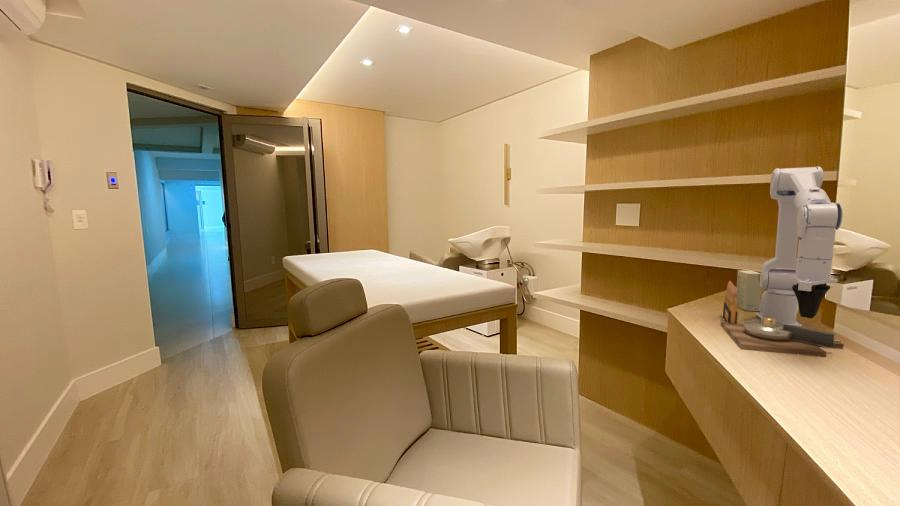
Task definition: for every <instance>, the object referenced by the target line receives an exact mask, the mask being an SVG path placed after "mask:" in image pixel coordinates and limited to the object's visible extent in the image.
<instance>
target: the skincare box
mask: <svg viewBox="0 0 900 506" xmlns="http://www.w3.org/2000/svg"><path fill="white" fill-rule="evenodd" d="M760 274H761V272H758V271H755V270H748V269H747V270H746V269H745V270H743V269H742V270H739V269H738V270H737V275H736V276H737V280H736V289H737V308H738V309H739V308H740V309H741V310H743V311H747V312H748V311H749V312H750V311H751V312H753V311H754V312H760V307H761V297H762V288H761V287H760Z"/></svg>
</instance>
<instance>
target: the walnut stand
mask: <svg viewBox="0 0 900 506" xmlns="http://www.w3.org/2000/svg"><path fill="white" fill-rule="evenodd" d="M720 326H721V327H722V328H723V329H724V331H725V332H726V333H727V334H728V336H729V337H731V338H732V340H733V341H734V342H735V343H736V345H737V346H738V347H739V349H741V350H751V351H761V352H762V351H763V352H770V353H771V352H772V353H781V354H790V355H798V354H799V356H800V355H801V356H809V357H818V356H819V358H820V357H821V358H827V351H825V350H824V349H823V348H827V349H829V348H830V349H838V350H839V349H840V350H844V345H845V344H844V343H843V342H841V341H842V340H840V339H836V338H835V341H834V346H833V347H828V346H823V345H818V344H813V343H809V342H804V341H799V340H794V339H792V340H771V339H765V338H761V337H757V336H753V335H751V334H748V333H746V332H745V331H744V322H737V324H733V323H728V322H725V320H724V321H721V322H720Z"/></svg>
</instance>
